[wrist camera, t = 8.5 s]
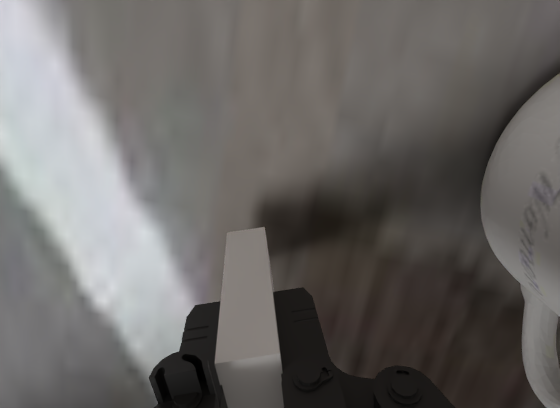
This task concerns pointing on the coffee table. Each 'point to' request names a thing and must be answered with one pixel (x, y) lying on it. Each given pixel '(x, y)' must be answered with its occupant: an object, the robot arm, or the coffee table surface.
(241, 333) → the robot arm
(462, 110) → the coffee table surface
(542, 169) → the teacup
